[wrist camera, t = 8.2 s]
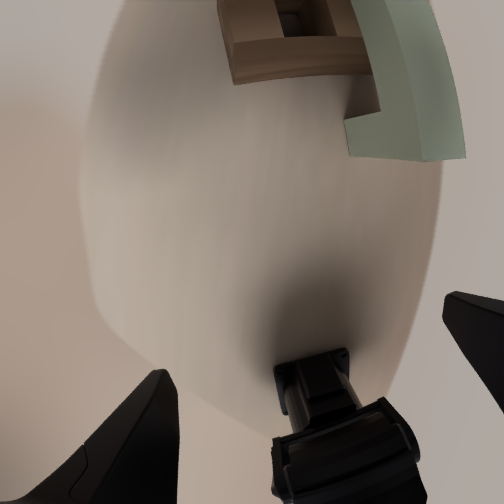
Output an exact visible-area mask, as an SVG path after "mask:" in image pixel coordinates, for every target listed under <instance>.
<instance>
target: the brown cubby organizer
mask: <svg viewBox="0 0 504 504" xmlns="http://www.w3.org/2000/svg"><path fill="white" fill-rule="evenodd" d="M217 11H218V16H219V20H220V25H221V29H222V34H223V38H224V43H225V47H226V52H227V57H228V61H229V66H230V71H231V75H232V80H233V85H239V84H245V83H251V82H258V81H265V80H273V79H282V78H292V77H303V76H318V75H343V74H372V75H373V72H372V68H371V64H370V60H369V57H368V53H367V49H366V46H365V43H364V39H363V36H362V33H361V30H360V26H359V23H358V20H357V17H356V15H355V12H354V9H353V6H352V3H351V1H350V0H217ZM279 14H297V17H298V20H299V24H300V27H301V30H302V34H303V36H302V37H284V34H283V31H282V27H281V23H280V20H279V16H278V15H279Z"/></svg>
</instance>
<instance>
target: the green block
mask: <svg viewBox="0 0 504 504" xmlns="http://www.w3.org/2000/svg"><path fill="white" fill-rule="evenodd" d="M350 1H351V3H352V6H353V9H354V12H355V15H356V17H357V20H358V23H359V26H360V30H361V33H362V36H363V39H364V43H365V46H366V49H367V53H368V57H369V60H370V64H371V68H372V72H373V76H374V80H375V84H376V89H377V93H378V98H379V103H380V108H381V112H376V113H372V114H367V115H363V116H358V117H354V118H350V119H346V120H344V124H345V130H346V135H347V141H348V147H349V153H350V156H355V157H373V158H387V159H399V160H410V161H420V162H427V161H437V160H448V159H460V158H466V151H465V142H464V134H463V127H462V120H461V114H460V108H459V103H458V97H457V93H456V88H455V83H454V79H453V75H452V71H451V67H450V63H449V59H448V56H447V52H446V49H445V46H444V43H443V39H442V36H441V33H440V31H439V28H438V25H437V22H436V19H435V17H434V14H433V12H432V9H431V7H430V4H429V2H428V0H350Z"/></svg>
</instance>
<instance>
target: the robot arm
mask: <svg viewBox="0 0 504 504" xmlns="http://www.w3.org/2000/svg"><path fill="white" fill-rule="evenodd" d="M442 318H443V322H444V323H445V325H446V327H447V328H448V330H449V331H450V333H451V335H452V336H453V338H454V339H455V341H456V343H457V344H458V346H459V348H460V349H461V351H462V352H463V354H464V356H465V357H466V359H467V360H468V361H469V363H470V364H471V365H472V367H473V368H474V370H475V371H476V372H477V374H478V375H479V377H480V378H481V380H482V381H483V382H484V384H485V385H486V387H487V388H488V390H489V391H490V393H491V394H492V396H493V397H494V399H495V401H496V402H497V404H498V405H499V407H500V408H501V410H502V411H503V413H504V301H502V300H497V299H492V298H488V297H483V296H477V295H473V294H468V293H463V292H459V291H454V292H451V293H449V294H447V295H446V296H445V300H444V307H443V314H442ZM343 353H344V354H343ZM342 354H343V355H342ZM279 370H282V371H280V372H278V371H279ZM273 372H274V377H275V382H276V386H277V391H278V395H279V400H280V405H281V409H282V413H283V415H289V418H290V422H291V426H292V430H293V434H290V435H287V436H283V437H276V438H273V439H272V440H273V447H272V448H271V449H272V451H271V456H272V464H273V479H272V487H271V490H272V494H273V495H274V496H276V497H278V498H280V499H281V501H282V502H283V503H284V504H426V502H427V493H426V490H425V488H424V486H423V483H422V481H421V478H420V474H419V471H418V468H417V464H416V463H417V462H419V460H420V449H419V445H418V442H417V440H416V437H415V435H414V433H413V431H412V429H411V428H410V426H409V425H408V424H407V422H406V421H405V420H404V419H403V417H402V416H401V415H400V414H399V413H398V412H397V411H396V410H395V409H394V407H393V406H392V405H391V404H390V403H389V402H388V401H387V399H386V398H385V397H384V396H383V397H381V398H379V399H377V401H375V402H373V403H371V404H369V405H367V406H364V407H363V406H362V404H361V403H360V401H359V399H358V397H357V395H356V393H355V391H354V389H353V387H352V386H351V384H350V382H349V351H348V350H347V349H346V348H341V349H338V350H334V351H331V352H327V353H324V354H320V355H317V356H313V357H309V358H306V359H302V360H298V361H294V362H290V363H286V364H281V365H278V366H276V367H274V369H273ZM179 445H180V431H179V413H178V393H177V389H176V387H175V385H174V383H173V381H172V379H171V377H170V375H169V373H168V371H167V370H166V369H158V370H153V371H151V372H150V373H149V375H148V376H147V377H146V378H145V379H144V380H143V381H142V382H141V383H140V384H139V385H138V386H137V387H136V388H135V390H133V392H132V393H131V394H130V395H129V396H128V397H127V398H126V399H125V400H124V401H123V402H122V403H121V404H120V405H119V406H118V408H117V409H116V410H115V411H114V412H113V413H112V414H111V415H110V416H109V417H108V418H107V419H106V420H105V421H104V422H103V423H102V424H101V425H100V427H99V428H98V429H97V430H96V431H95V432H94V433H93V434H92V435H91V436H90V437H89V438H88V439H87V440H86V441H85V442H84V445H81V446H80V447H79V448H78V449H77V450H76V451H75V453H74V454H73V455H71V457H69V459H67V460H66V461H65V462H64V463H63V464H62V465H61V466H60V467H59V468H58V469H57V470H55V471H54V472H53V473H52V474H51V475H50V476H49V477H47V478H46V479H45V480H44V481H43V482H41V483H40V484H39V485H37V486H36V487H35V488H34V489H33V490H31V491H30V492H29V493H28V494H26V495H25V496H23V497H21V498H19V499H17V500H13V501H6V502H0V504H177V484H178V462H179Z"/></svg>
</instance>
